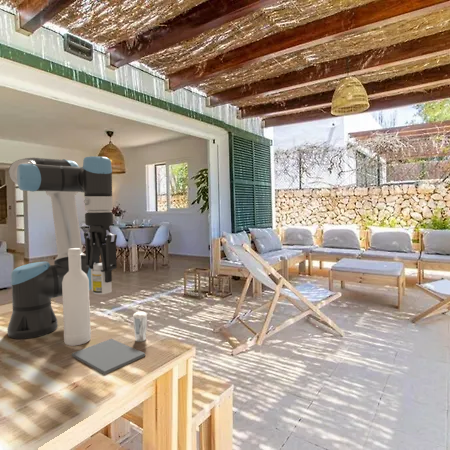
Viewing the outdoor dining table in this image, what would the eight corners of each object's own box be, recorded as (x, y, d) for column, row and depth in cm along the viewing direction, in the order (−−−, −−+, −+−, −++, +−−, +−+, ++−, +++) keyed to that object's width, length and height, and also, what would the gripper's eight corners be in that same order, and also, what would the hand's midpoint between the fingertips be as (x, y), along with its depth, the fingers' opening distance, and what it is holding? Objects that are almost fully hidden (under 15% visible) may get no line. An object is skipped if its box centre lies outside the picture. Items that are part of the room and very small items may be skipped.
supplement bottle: (104, 289, 100) (104, 261, 99) (113, 292, 97) (112, 263, 96) (89, 292, 96) (88, 264, 95) (98, 295, 93) (97, 266, 92)
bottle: (63, 347, 101) (59, 251, 99) (64, 338, 108) (60, 248, 106) (91, 343, 105) (88, 249, 103) (90, 334, 112) (87, 246, 110)
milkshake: (146, 343, 104) (145, 312, 104) (130, 342, 105) (129, 311, 105) (152, 337, 109) (151, 307, 108) (137, 336, 110) (136, 307, 109)
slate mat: (71, 356, 96) (71, 353, 96) (111, 341, 106) (111, 338, 106) (104, 374, 85) (104, 371, 85) (145, 355, 96) (145, 353, 96)
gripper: (70, 211, 97) (73, 289, 99) (104, 212, 86) (107, 300, 88) (94, 210, 103) (96, 284, 105) (128, 211, 92) (131, 293, 94)
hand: (101, 291), depth 96 cm, fingers closed on supplement bottle, 5 cm apart
